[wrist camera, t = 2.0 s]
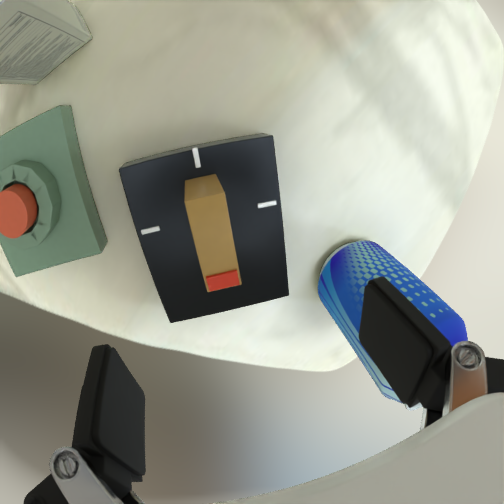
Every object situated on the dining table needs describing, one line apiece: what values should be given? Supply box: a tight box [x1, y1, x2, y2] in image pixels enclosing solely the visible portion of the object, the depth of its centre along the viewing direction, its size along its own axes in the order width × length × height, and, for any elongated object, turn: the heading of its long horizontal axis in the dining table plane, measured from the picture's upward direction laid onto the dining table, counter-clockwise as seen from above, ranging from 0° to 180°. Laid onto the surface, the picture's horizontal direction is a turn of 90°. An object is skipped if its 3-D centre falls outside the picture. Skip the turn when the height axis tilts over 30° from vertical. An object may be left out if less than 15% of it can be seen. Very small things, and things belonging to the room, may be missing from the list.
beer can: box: [318, 240, 468, 410], centre depth 22 cm, size 8×8×16 cm
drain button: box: [0, 184, 37, 238], centre depth 15 cm, size 4×4×2 cm
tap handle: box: [184, 174, 242, 292], centre depth 18 cm, size 6×2×5 cm, turn 8°
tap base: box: [119, 133, 289, 323], centre depth 23 cm, size 14×11×3 cm
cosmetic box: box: [0, 0, 92, 85], centre depth 8 cm, size 6×4×12 cm
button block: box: [0, 106, 107, 277], centre depth 17 cm, size 12×10×4 cm
